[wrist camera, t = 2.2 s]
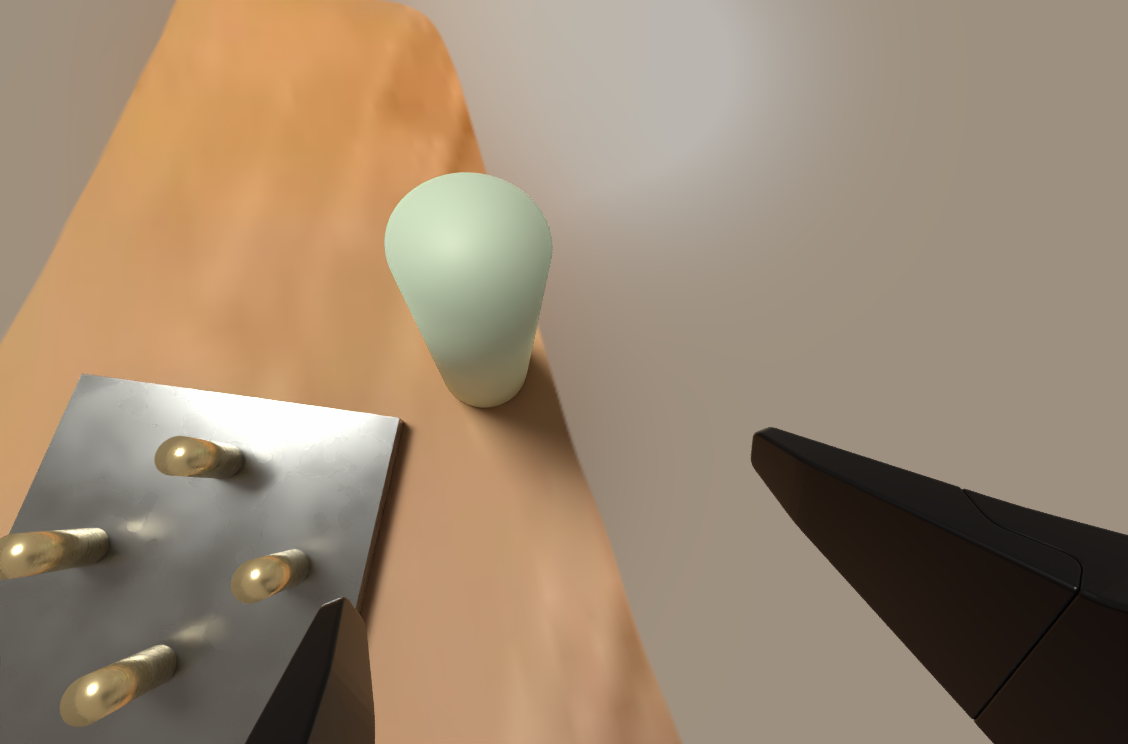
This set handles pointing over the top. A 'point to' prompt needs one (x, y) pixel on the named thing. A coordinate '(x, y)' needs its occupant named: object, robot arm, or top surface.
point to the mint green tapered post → (472, 279)
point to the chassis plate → (180, 560)
